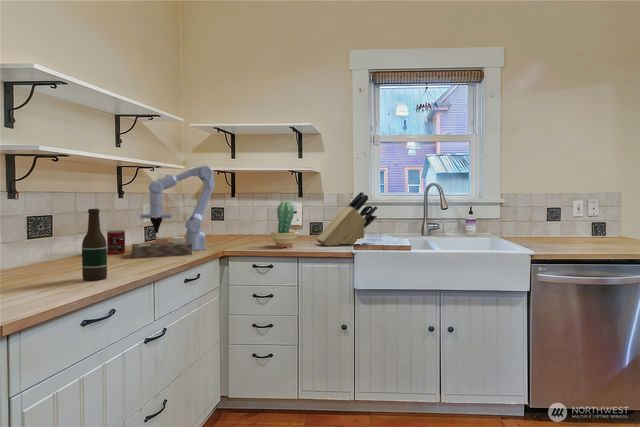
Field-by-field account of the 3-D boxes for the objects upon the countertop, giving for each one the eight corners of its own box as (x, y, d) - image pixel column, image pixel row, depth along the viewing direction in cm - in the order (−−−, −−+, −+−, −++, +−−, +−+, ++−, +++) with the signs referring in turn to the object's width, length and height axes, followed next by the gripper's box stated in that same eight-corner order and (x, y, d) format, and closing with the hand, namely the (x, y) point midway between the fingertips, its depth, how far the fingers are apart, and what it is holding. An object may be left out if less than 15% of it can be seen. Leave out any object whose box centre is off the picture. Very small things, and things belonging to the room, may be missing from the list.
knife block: (378, 244, 243) (379, 191, 242) (323, 246, 230) (323, 191, 228) (369, 242, 254) (369, 191, 252) (315, 244, 240) (316, 191, 239)
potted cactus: (302, 247, 226) (302, 201, 224) (276, 249, 219) (276, 201, 217) (291, 244, 239) (291, 201, 238) (266, 245, 232) (266, 201, 231)
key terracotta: (166, 245, 200) (166, 237, 200) (168, 246, 196) (168, 238, 195) (155, 245, 198) (155, 237, 197) (157, 247, 193) (157, 238, 193)
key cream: (182, 244, 204) (182, 236, 203) (184, 245, 199) (184, 237, 199) (172, 245, 201) (172, 236, 201) (173, 246, 197) (173, 237, 197)
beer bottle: (112, 276, 145) (110, 208, 144) (101, 281, 138) (99, 209, 136) (89, 276, 145) (88, 208, 144) (77, 281, 137) (75, 209, 136)
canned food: (105, 254, 195) (105, 231, 195) (109, 252, 203) (109, 230, 202) (123, 254, 197) (123, 231, 197) (126, 251, 205) (126, 229, 204)
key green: (150, 252, 197) (150, 244, 196) (151, 253, 192) (151, 245, 192) (138, 253, 194) (138, 244, 194) (139, 254, 190) (139, 245, 190)
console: (186, 251, 208) (186, 241, 208) (191, 254, 197) (191, 243, 197) (132, 254, 197) (132, 243, 196) (134, 258, 185) (134, 246, 185)
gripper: (141, 205, 199) (141, 234, 199) (172, 205, 206) (172, 232, 206) (139, 205, 205) (140, 232, 206) (170, 205, 212) (170, 231, 213)
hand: (156, 232), depth 206 cm, fingers closed
